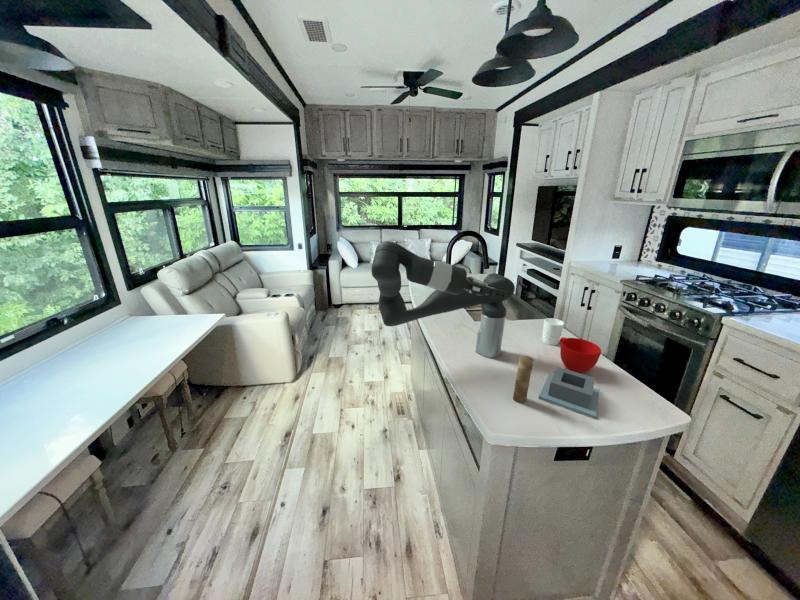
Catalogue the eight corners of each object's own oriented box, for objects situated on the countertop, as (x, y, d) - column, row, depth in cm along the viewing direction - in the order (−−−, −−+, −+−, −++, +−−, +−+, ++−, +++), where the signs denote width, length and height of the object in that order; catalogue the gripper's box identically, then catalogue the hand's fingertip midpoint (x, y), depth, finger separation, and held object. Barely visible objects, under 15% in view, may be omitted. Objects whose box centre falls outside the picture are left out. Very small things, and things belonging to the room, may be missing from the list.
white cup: (540, 344, 136) (544, 323, 133) (540, 336, 143) (543, 317, 140) (560, 347, 134) (564, 326, 130) (558, 339, 141) (563, 319, 137)
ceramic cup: (571, 354, 128) (576, 332, 125) (603, 377, 113) (610, 353, 109) (543, 356, 126) (547, 334, 123) (571, 380, 111) (577, 355, 107)
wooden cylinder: (511, 400, 99) (518, 359, 94) (514, 393, 103) (521, 354, 98) (524, 404, 97) (531, 363, 92) (527, 398, 100) (534, 358, 95)
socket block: (538, 398, 100) (541, 383, 98) (548, 376, 113) (551, 361, 111) (595, 419, 92) (600, 402, 90) (599, 392, 104) (603, 377, 102)
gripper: (436, 285, 91) (486, 299, 93) (447, 296, 77) (506, 312, 79) (443, 261, 89) (494, 275, 92) (456, 267, 75) (516, 284, 78)
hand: (500, 292), depth 85 cm, fingers open, 8 cm apart
